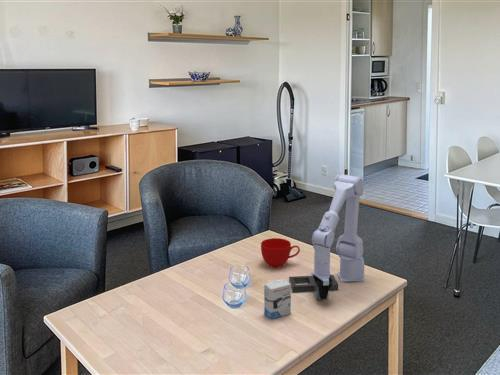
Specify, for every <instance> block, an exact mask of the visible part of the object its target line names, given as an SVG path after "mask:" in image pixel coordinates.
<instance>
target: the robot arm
mask: <svg viewBox="0 0 500 375" xmlns="http://www.w3.org/2000/svg"><path fill="white" fill-rule="evenodd" d="M364 186H365V181H364V179H363V178H362V176H354V175H349V174H342V173H338V174H337V175H336V176H335V179H334V181H333V189H334V194H333V197H332V199H331V203H330V206H329V210H327V211H326V212H324V215H323V216H322V219H321V221H320V223H319V226H318V227H317V229H316V230H314V232H312V236H311V243H312V244H313V245H312V248H313V249H314V259H313V260H314V261H313V262H314V263H313V264H314V266H313V270H312V271H311V272H310V274H311V275H310V276H313V277H314V280H315V281H317V282H316V283H317V285H318V288H319V293H320V298H321V299H326V298H327V295H328V292H330V291H329V289H330V287H331V286H332V282H329V276H330V275H331V270H330V266H331V246H332V245H333V243H334V241H335V230H336V228H337V226H338V224H339V221H340V217H339V213H340V211H341V209H342V207H343V205H344V203H345V202H346V203H345V204H346V205H345V214H344V218H345V219H344V230H343V234H342V235H340V236H339V237H338V238H337V242H336V246H335V251H336V253H337V255H338V257H339V259H340V260H339V272H336V275H337V277H338V278H339V280H340V281H341V283H345V282H364V281H365V260H364V257H363V254H364V245H363V244H364V241H363V239H362V238H361V237H360V236H359V235H358V234H357V232H358V223H359V221H358V219H359V211H360V197H362V196H363V195H364V188H365V187H364Z"/></svg>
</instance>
